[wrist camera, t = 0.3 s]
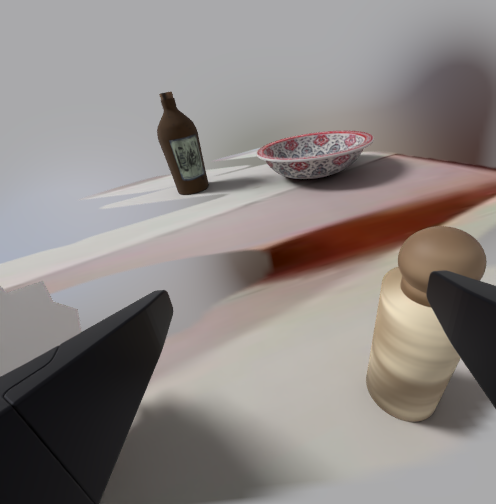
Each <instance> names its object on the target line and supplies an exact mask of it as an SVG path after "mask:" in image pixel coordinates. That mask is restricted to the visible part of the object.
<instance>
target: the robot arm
mask: <svg viewBox="0 0 496 504" xmlns="http://www.w3.org/2000/svg"><path fill="white" fill-rule="evenodd" d="M426 296H427V300H428V302H429V304H430V306H431V308H432V310H433V311H434V313H435V315H436V317H437V319H438V321H439V323H440V325H441V326H442V328H443V330H444V332H445V334H446V336H447V337H448V339H449V341H450V343H451V344H452V346H453V347H454V349H455V350H456V352H457V353H458V355H459V356H460V357H461V359H462V360H463V362H464V363H465V365H466V366H467V368H468V369H469V371H470V372H471V373H472V375H473V376H474V378H475V379H476V381H477V382H478V384H479V385H480V387H481V388H482V390H483V391H484V392H485V394H486V395H487V397H488V398H489V400H490V401H491V403H492V404H493V406H494V407H495V408H496V286H494V285H491V284H488V283H485V282H481V281H478V280H475V279H472V278H469V277H466V276H463V275H460V274H457V273H454V272H451V271H447V270H442V271H433V272H431V273H430V276H429V281H428V286H427V292H426ZM172 316H173V307H172V304H171V301H170V298H169V295H168V292H167V291H165V290H158V291H154V292H152V293H150V294H149V295H147V296H145V297H143V298H141V299H139V300H138V301H136V302H134V303H133V304H131V305H129V306H127V307H125V308H124V309H122V310H120V311H118V312H116V313H115V314H113V315H111V316H109V317H108V318H106V319H104V320H102V321H101V322H99V323H97V324H95V325H93V326H92V327H90V328H88V329H86V330H85V331H83V332H81V333H79V334H77V335H76V336H74V337H72V338H70V339H69V340H67V341H65V342H63V343H61V344H60V346H59V345H58V346H56V347H54V348H52V349H51V350H49V351H47V352H45V353H44V354H42V355H40V356H38V357H36V358H34V359H33V360H31V361H29V362H27V363H25V364H23V365H22V366H20V367H18V368H16V369H14V370H12V371H10V372H8V373H6V374H4V375H3V376H1V377H0V504H99V502H100V499H101V497H102V495H103V492H104V490H105V487H106V485H107V483H108V480H109V478H110V475H111V473H112V470H113V468H114V466H115V463H116V461H117V458H118V456H119V454H120V451H121V449H122V446H123V444H124V441H125V439H126V437H127V434H128V432H129V429H130V427H131V425H132V422H133V420H134V417H135V415H136V412H137V410H138V408H139V405H140V403H141V400H142V398H143V396H144V393H145V391H146V388H147V386H148V383H149V381H150V379H151V376H152V374H153V371H154V369H155V367H156V364H157V362H158V359H159V357H160V354H161V352H162V349H163V346H164V343H165V339H166V336H167V333H168V329H169V325H170V322H171V319H172Z"/></svg>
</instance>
